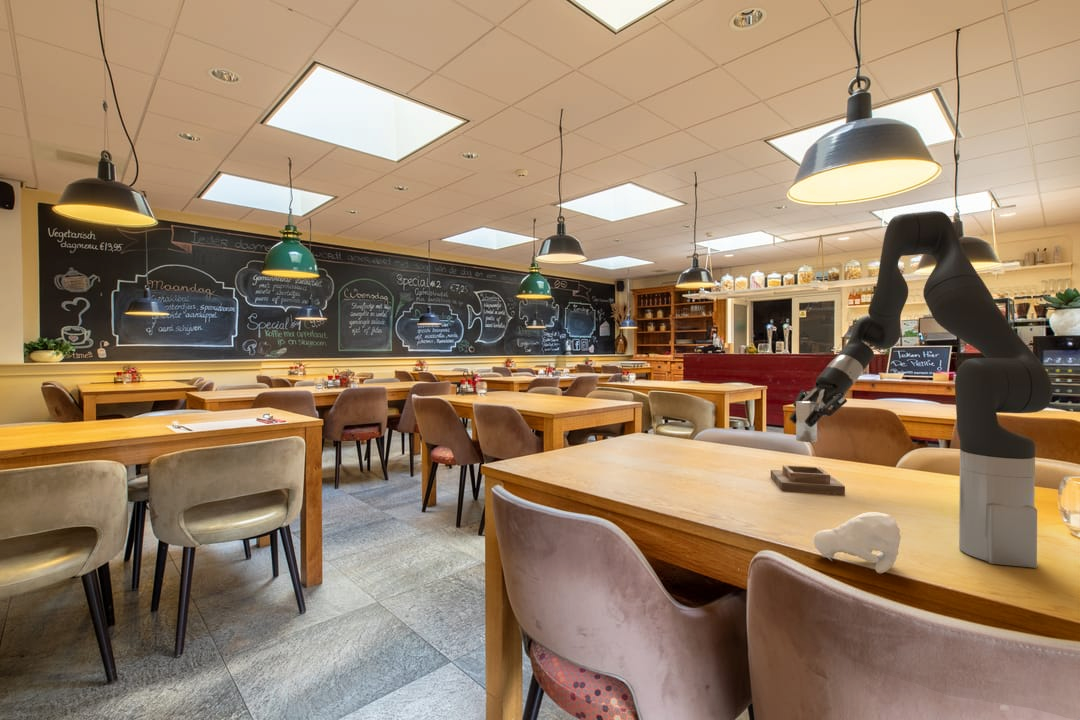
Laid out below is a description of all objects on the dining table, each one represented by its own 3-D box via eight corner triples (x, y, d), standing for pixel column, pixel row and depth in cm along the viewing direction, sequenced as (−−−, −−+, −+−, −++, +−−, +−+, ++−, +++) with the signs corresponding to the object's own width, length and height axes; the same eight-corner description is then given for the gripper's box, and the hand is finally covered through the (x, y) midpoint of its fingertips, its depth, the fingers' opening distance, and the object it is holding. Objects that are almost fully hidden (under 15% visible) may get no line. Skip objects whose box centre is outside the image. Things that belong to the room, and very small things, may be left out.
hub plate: (844, 494, 118) (845, 478, 118) (781, 490, 122) (781, 474, 122) (827, 480, 131) (827, 465, 131) (770, 477, 135) (770, 462, 135)
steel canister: (819, 442, 124) (819, 403, 123) (798, 441, 125) (798, 402, 125) (814, 439, 128) (814, 401, 128) (794, 438, 129) (794, 400, 129)
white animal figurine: (900, 520, 74) (810, 515, 79) (907, 577, 73) (815, 568, 79) (895, 509, 79) (810, 505, 85) (901, 562, 79) (816, 554, 85)
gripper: (810, 365, 135) (772, 410, 132) (854, 366, 121) (812, 416, 118) (826, 384, 136) (788, 428, 134) (871, 387, 122) (830, 437, 120)
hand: (800, 422), depth 126 cm, fingers closed on steel canister, 4 cm apart
